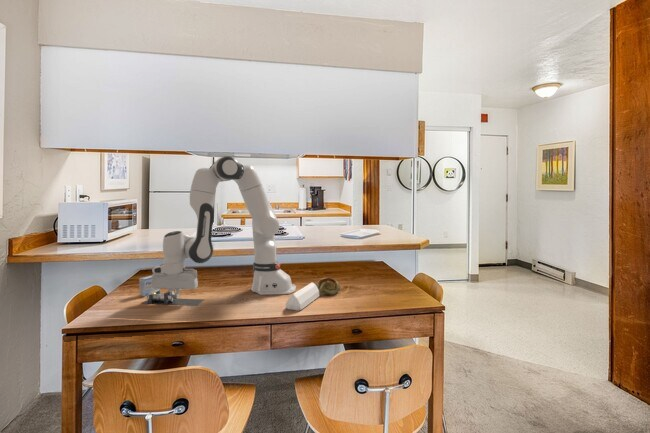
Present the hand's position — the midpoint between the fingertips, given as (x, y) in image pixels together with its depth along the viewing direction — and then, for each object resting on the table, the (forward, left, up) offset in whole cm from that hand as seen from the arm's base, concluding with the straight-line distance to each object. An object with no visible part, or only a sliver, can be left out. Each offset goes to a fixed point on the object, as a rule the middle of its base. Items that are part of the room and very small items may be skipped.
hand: (175, 298), depth 161 cm
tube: (+7, 0, -2) cm, 7 cm away
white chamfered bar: (-57, -6, -2) cm, 58 cm away
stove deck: (+1, 0, -2) cm, 2 cm away
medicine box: (+18, -10, -2) cm, 20 cm away
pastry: (-67, -24, -2) cm, 72 cm away
